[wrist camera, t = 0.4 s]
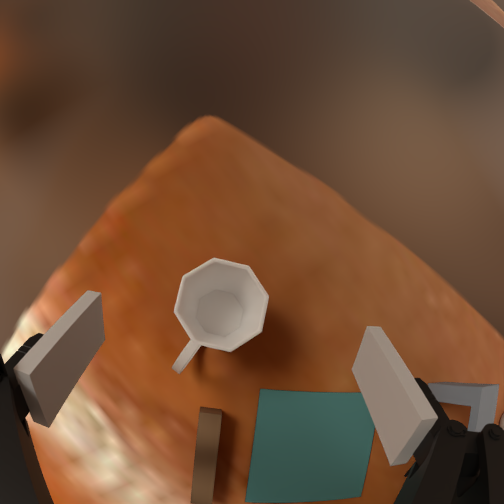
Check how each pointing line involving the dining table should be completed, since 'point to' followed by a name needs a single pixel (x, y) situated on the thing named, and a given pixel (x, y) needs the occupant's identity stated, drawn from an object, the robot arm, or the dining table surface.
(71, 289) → the dining table surface
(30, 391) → the robot arm
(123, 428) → the dining table surface
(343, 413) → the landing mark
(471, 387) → the bridge
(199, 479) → the strip
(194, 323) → the cup
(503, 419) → the ball
